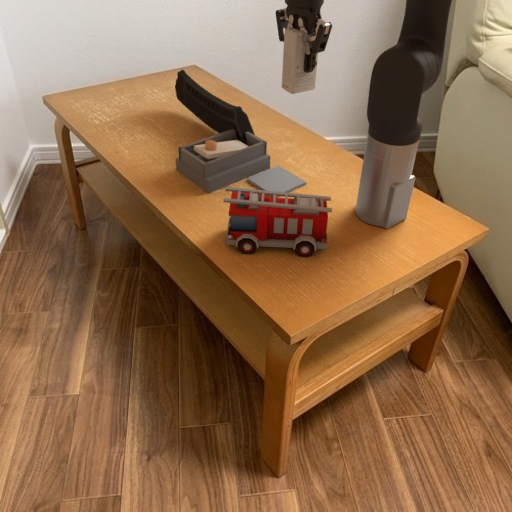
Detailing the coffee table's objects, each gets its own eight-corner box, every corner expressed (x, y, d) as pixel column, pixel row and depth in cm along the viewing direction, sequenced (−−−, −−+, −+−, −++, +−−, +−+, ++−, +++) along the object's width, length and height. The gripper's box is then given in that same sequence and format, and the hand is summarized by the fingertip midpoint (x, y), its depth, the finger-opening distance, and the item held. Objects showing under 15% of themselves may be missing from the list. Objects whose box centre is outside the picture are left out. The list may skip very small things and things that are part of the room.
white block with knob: (236, 143, 125) (238, 133, 123) (251, 152, 122) (252, 141, 121) (193, 149, 117) (194, 138, 116) (207, 159, 114) (209, 147, 113)
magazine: (258, 118, 119) (178, 43, 130) (246, 125, 118) (167, 49, 129) (258, 167, 134) (186, 96, 145) (247, 174, 133) (176, 102, 144)
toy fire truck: (227, 225, 106) (226, 180, 100) (325, 229, 106) (330, 184, 99) (223, 254, 99) (222, 207, 93) (327, 259, 99) (333, 212, 92)
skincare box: (292, 95, 114) (296, 34, 106) (280, 88, 116) (283, 28, 109) (316, 89, 116) (321, 29, 109) (303, 82, 119) (307, 23, 112)
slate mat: (306, 184, 118) (306, 181, 118) (274, 198, 114) (275, 196, 113) (278, 167, 123) (278, 165, 123) (247, 180, 119) (247, 178, 118)
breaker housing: (236, 148, 130) (236, 124, 127) (270, 168, 123) (271, 143, 120) (176, 170, 122) (174, 145, 118) (208, 193, 115) (207, 167, 111)
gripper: (347, -19, 101) (337, 74, 111) (294, -32, 109) (289, 55, 120) (318, -13, 97) (311, 82, 108) (265, -27, 105) (263, 62, 116)
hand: (299, 67), depth 114 cm, fingers closed on skincare box, 4 cm apart
